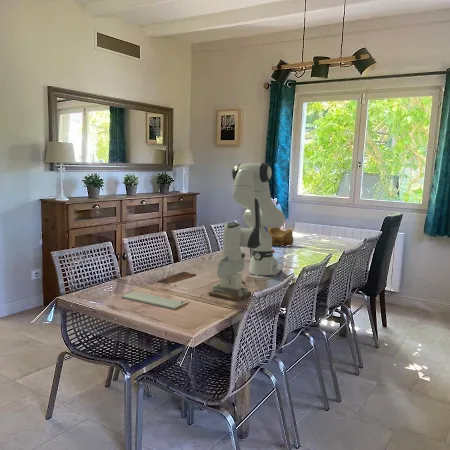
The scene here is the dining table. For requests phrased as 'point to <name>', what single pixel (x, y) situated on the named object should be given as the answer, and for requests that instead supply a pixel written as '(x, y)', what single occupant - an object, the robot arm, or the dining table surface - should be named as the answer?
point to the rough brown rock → (281, 236)
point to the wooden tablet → (176, 277)
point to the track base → (229, 293)
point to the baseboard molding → (154, 300)
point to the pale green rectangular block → (232, 282)
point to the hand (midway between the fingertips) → (230, 283)
